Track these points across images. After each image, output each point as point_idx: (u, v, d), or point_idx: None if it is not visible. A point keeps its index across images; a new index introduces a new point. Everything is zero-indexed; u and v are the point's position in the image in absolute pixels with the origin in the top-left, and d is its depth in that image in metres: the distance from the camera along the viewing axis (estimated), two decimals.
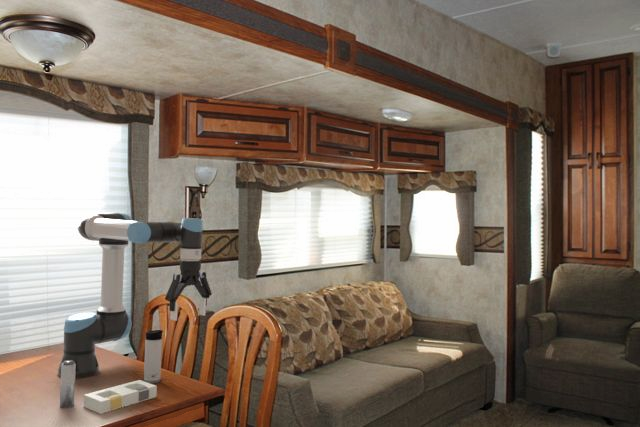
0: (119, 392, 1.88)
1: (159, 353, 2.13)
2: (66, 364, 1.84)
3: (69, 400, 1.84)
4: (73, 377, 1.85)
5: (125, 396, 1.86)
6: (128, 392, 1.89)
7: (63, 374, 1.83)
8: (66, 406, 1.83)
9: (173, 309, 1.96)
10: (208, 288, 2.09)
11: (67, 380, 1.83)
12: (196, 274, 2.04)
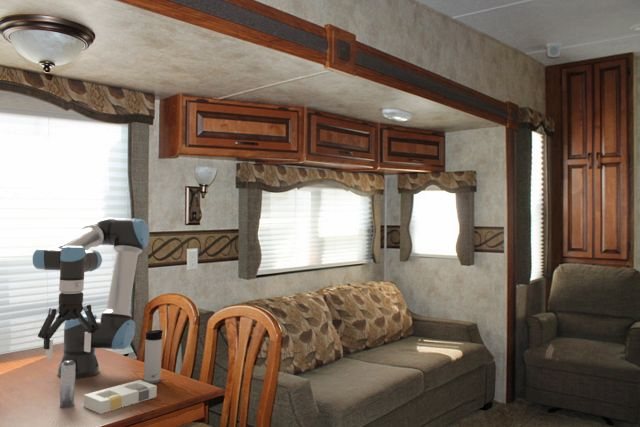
0: (119, 392, 1.88)
1: (159, 353, 2.13)
2: (66, 364, 1.84)
3: (69, 400, 1.84)
4: (73, 377, 1.85)
5: (125, 396, 1.86)
6: (128, 392, 1.89)
7: (63, 374, 1.83)
8: (66, 406, 1.83)
9: (47, 347, 1.78)
10: (94, 322, 1.91)
11: (67, 380, 1.83)
12: (78, 307, 1.86)
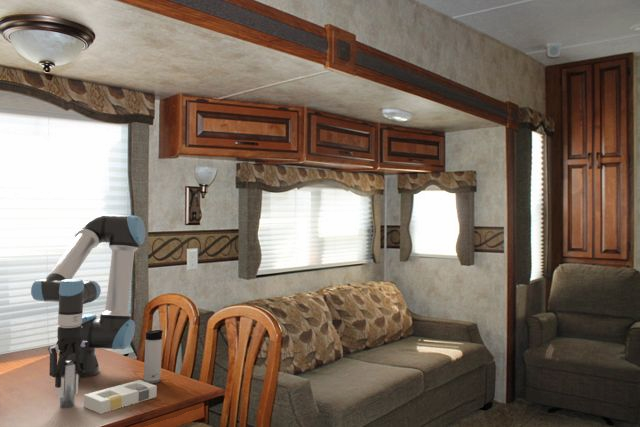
0: (119, 392, 1.88)
1: (159, 353, 2.13)
2: (66, 364, 1.84)
3: (69, 400, 1.84)
4: (73, 377, 1.85)
5: (125, 396, 1.86)
6: (128, 392, 1.89)
7: (63, 374, 1.83)
8: (66, 406, 1.83)
9: (59, 385, 1.82)
10: (85, 361, 1.89)
11: (67, 380, 1.83)
12: (78, 339, 1.87)
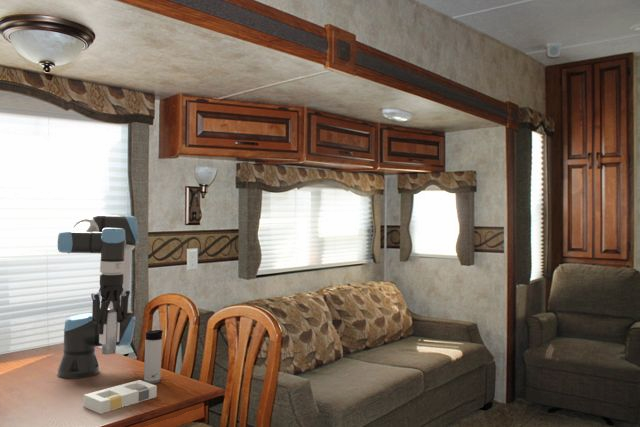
0: (119, 392, 1.88)
1: (159, 353, 2.13)
2: (108, 311, 1.85)
3: (111, 347, 1.84)
4: (115, 325, 1.85)
5: (125, 396, 1.86)
6: (128, 392, 1.89)
7: (105, 321, 1.84)
8: (108, 353, 1.84)
9: (101, 332, 1.83)
10: (125, 310, 1.90)
11: (109, 327, 1.84)
12: (119, 288, 1.88)
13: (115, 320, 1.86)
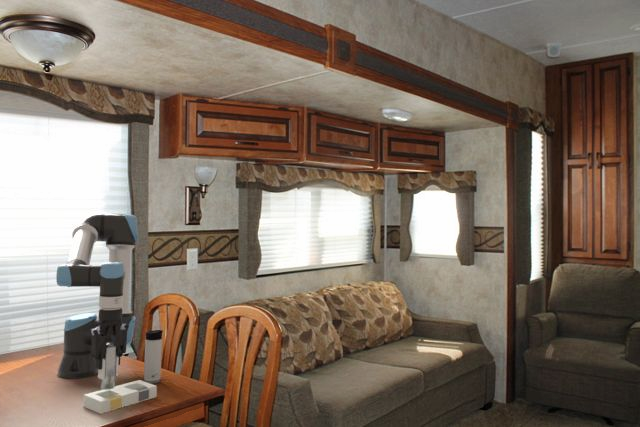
0: (119, 392, 1.88)
1: (159, 353, 2.13)
2: (107, 346, 1.85)
3: (110, 382, 1.85)
4: (114, 359, 1.86)
5: (125, 396, 1.86)
6: (128, 392, 1.89)
7: (104, 356, 1.84)
8: (107, 388, 1.84)
9: (100, 367, 1.83)
10: (124, 344, 1.90)
11: (108, 362, 1.84)
12: (118, 322, 1.88)
13: (114, 355, 1.86)
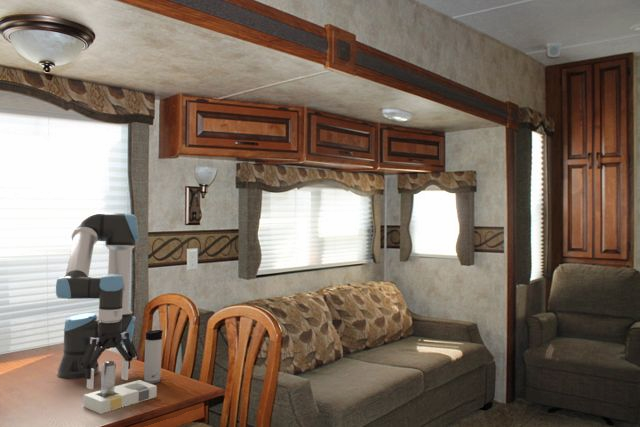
0: (119, 392, 1.88)
1: (159, 353, 2.13)
2: (107, 364, 1.85)
3: None
4: (113, 378, 1.86)
5: (125, 396, 1.86)
6: (128, 392, 1.89)
7: (104, 374, 1.84)
8: None
9: (89, 377, 1.80)
10: (131, 350, 1.92)
11: (108, 381, 1.84)
12: (117, 335, 1.87)
13: (113, 373, 1.86)
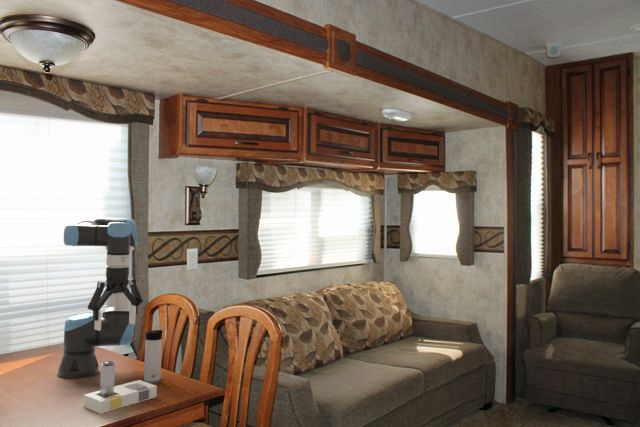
0: (119, 392, 1.88)
1: (159, 353, 2.13)
2: (106, 365, 1.85)
3: None
4: (112, 378, 1.85)
5: (125, 396, 1.86)
6: (128, 392, 1.89)
7: (103, 375, 1.84)
8: None
9: (96, 318, 1.86)
10: (139, 295, 1.99)
11: (107, 381, 1.84)
12: (124, 281, 1.93)
13: (113, 373, 1.86)
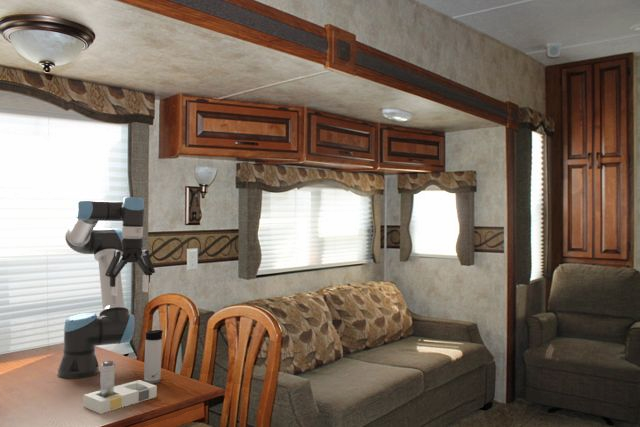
0: (119, 392, 1.88)
1: (159, 353, 2.13)
2: (106, 365, 1.85)
3: None
4: (112, 378, 1.86)
5: (125, 396, 1.86)
6: (128, 392, 1.89)
7: (103, 375, 1.84)
8: None
9: (113, 285, 2.02)
10: (151, 266, 2.15)
11: (107, 381, 1.84)
12: (138, 251, 2.10)
13: (113, 373, 1.86)
